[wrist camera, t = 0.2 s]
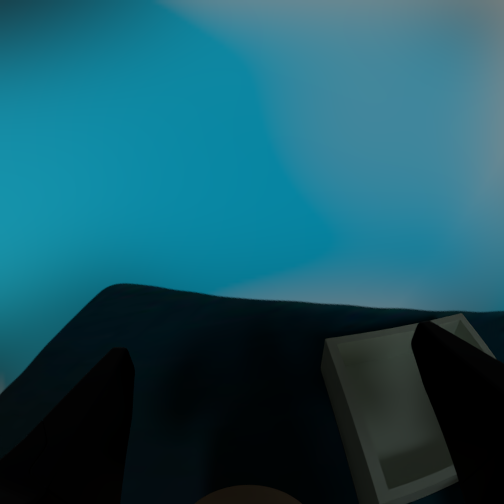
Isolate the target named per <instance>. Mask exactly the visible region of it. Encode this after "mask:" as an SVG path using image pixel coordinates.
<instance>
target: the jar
mask: <svg viewBox="0 0 504 504" xmlns="http://www.w3.org/2000/svg"><path fill="white" fill-rule="evenodd" d="M195 504H302V503H300V502H299V501H298V500H296V499H295V498H294V497H292V496H290V495H288V494H286V493H284V492H282V491H279V490H277V489H273V488H270V487H265V486H258V485H239V486H232V487H227V488H223V489H220V490H217V491H215V492H213V493H210V494H208V495H207V496H205V497H203V498H202V499H200V500H199V501H198V502H196V503H195Z"/></svg>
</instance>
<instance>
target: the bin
mask: <svg viewBox="0 0 504 504" xmlns="http://www.w3.org/2000/svg"><path fill="white" fill-rule="evenodd" d="M430 321H431V322H433V323H435V324H437V325H438V326H440V327H442V328H444V329H445V330H447V331H449V332H451V333H452V334H454V335H456V336H457V337H459V338H461V339H463V340H464V341H466V342H468V343H469V344H471V345H473V346H475V347H476V348H478V349H480V350H481V351H483V352H485V353H486V354H488V355H490V356H492V357H493V358H495V356H494V355H493V354H492V352H491V351H490V349H489V348H488V347H487V345H486V344H485V343H484V341H483V340H482V339H481V337H480V336H479V335H478V333H477V332H476V331H475V330H474V328H473V327H472V326H471V324H470V323H469V322H468V321H467V319H466V318H465V317H464V316H463V314H462V313H461V314H457V315H453V316H448V317H444V318H439V319H435V320H430ZM417 324H418V323H416V324H411V325H406V326H401V327H395V328H390V329H384V330H379V331H373V332H367V333H361V334H354V335H348V336H341V337H334V338H327V339H325V344H324V350H323V356H322V362H321V368H320V369H321V372H322V375H323V379H324V382H325V385H326V389H327V392H328V395H329V399H330V402H331V405H332V409H333V412H334V416H335V419H336V422H337V426H338V429H339V433H340V436H341V440H342V443H343V447H344V450H345V454H346V457H347V461H348V465H349V468H350V472H351V476H352V479H353V483H354V487H355V490H356V494H357V498H358V502H359V504H407V503H410V502H412V501H415V500H418V499H420V498H423V497H425V496H428V495H430V494H432V493H435V492H437V491H439V490H441V489H444V488H446V487H448V486H450V485H452V484H454V483H456V482H458V481H459V480H458V477H457V474H456V471H455V468H454V465H453V462H452V459H451V456H450V453H449V450H448V447H447V444H446V442H445V439H444V436H443V434H442V431H441V428H440V426H439V423H438V420H437V418H436V415H435V413H434V410H433V408H432V405H431V403H430V400H429V398H428V395H427V393H426V391H425V388H424V385H423V382H422V379H421V376H420V373H419V370H418V367H417V363H416V360H415V357H414V354H413V351H412V348H411V340H412V337H413V335H414V332H415V329H416V327H417ZM495 359H496V358H495Z"/></svg>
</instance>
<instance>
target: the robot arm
mask: <svg viewBox="0 0 504 504" xmlns="http://www.w3.org/2000/svg"><path fill="white" fill-rule="evenodd" d="M411 348H412V351H413V354H414V357H415V360H416V363H417V367H418V370H419V373H420V376H421V379H422V382H423V385H424V388H425V391H426V393H427V395H428V398H429V400H430V403H431V405H432V408H433V410H434V413H435V415H436V418H437V420H438V423H439V426H440V428H441V431H442V434H443V436H444V439H445V442H446V444H447V447H448V450H449V453H450V456H451V459H452V462H453V465H454V468H455V471H456V474H457V477H458V480H459V483H460V487H461V490H462V494H463V497H464V500H465V504H504V364H503V363H502V362H500V361H498V360H497V359H495V358H493V357H492V356H490V355H488V354H486V353H485V352H483V351H481V350H480V349H478V348H476V347H475V346H473V345H471V344H469V343H468V342H466V341H464V340H463V339H461V338H459V337H457V336H456V335H454V334H452V333H451V332H449V331H447V330H445V329H444V328H442V327H440V326H438V325H437V324H435V323H433V322H431V321H423V322H420V323H418V324H417V327H416V329H415V332H414V335H413V337H412V340H411ZM134 376H135V370H134V365H133V363H132V360H131V357H130V355H129V352H128V350H127V348H124V347H114V348H112V349H111V350H110V351H109V352H108V353H107V354H106V355H105V356H104V357H103V358H102V359H101V360H100V361H99V362H98V363H97V364H96V365H95V366H94V367H93V368H92V369H91V370H90V371H89V372H88V373H87V374H86V375H85V376H84V377H83V378H82V379H81V380H80V381H79V382H78V383H77V384H76V386H75V387H74V388H73V389H72V390H71V391H70V392H69V393H68V394H67V395H66V396H65V397H64V398H63V399H62V400H61V401H60V402H59V403H58V404H57V405H56V406H55V407H54V408H53V409H52V410H51V411H50V412H49V413H48V415H47V416H46V417H45V418H44V419H43V421H41V422H40V423H39V424H38V425H37V426H36V427H35V428H34V429H33V430H32V431H31V432H30V433H29V434H28V435H27V436H26V437H25V438H24V439H23V440H22V441H21V442H20V443H19V444H18V445H17V446H15V447H14V448H13V449H12V450H11V451H10V452H9V453H7V454H6V455H5V456H4V457H3V458H2V459H0V504H120V500H121V491H122V482H123V474H124V467H125V459H126V452H127V445H128V439H129V433H130V426H131V420H132V408H133V391H134Z"/></svg>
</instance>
